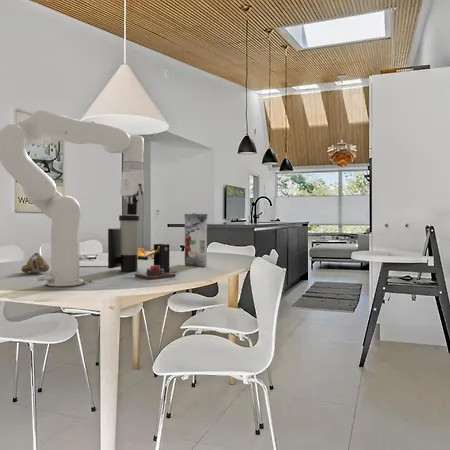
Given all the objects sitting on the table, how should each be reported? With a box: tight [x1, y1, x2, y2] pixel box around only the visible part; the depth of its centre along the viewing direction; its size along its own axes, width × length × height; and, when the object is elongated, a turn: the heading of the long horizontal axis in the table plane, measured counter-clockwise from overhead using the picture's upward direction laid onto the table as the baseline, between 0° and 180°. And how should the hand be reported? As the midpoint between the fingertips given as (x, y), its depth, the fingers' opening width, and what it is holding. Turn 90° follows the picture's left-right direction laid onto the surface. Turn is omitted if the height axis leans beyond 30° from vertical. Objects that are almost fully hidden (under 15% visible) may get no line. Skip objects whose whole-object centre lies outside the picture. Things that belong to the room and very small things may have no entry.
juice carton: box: [184, 210, 208, 268], centre depth 212 cm, size 9×10×27 cm
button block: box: [134, 267, 176, 281], centre depth 168 cm, size 12×10×4 cm
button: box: [150, 264, 160, 270], centre depth 168 cm, size 4×4×2 cm
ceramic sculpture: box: [21, 252, 50, 274], centre depth 185 cm, size 11×9×15 cm
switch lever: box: [137, 246, 160, 261], centre depth 178 cm, size 12×5×2 cm, turn 136°
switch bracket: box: [145, 243, 176, 274], centre depth 181 cm, size 10×8×13 cm
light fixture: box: [107, 214, 140, 273], centre depth 185 cm, size 12×11×25 cm
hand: (131, 214), depth 169 cm, fingers closed
